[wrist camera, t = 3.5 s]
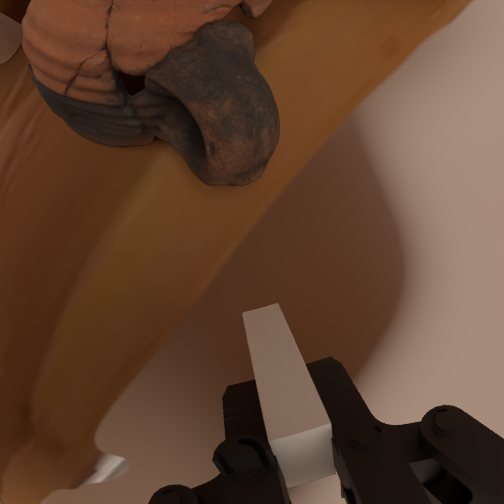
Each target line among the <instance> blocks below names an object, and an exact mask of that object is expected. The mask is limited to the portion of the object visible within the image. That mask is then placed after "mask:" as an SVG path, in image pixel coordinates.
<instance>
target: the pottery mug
mask: <svg viewBox="0 0 504 504" xmlns="http://www.w3.org/2000/svg"><path fill="white" fill-rule="evenodd" d="M272 1H273V0H30V3H29V5H28V8H27V12H26V14H25V16H24V18H23V20H22V31H23V40H22V47H23V50H24V53H25V55H26V57H27V58H28V59H29V61H30V63H29V69H30V70H31V77H32V80H33V82H34V83H35V84H36V85H37V88H38V91H39V93H40V94H41V96H42V97H43V98H44V99H45V101H46V103H47V104H48V105H49V107H50V109H51V110H52V111H53V112H54V113H55V114H56V115H58V116H59V117H61V118H62V119H63V120H65V121H66V123H67V124H68V125H69V127H70V128H72V129H73V130H74V131H75V132H77V133H78V134H80V135H81V136H83V137H85V138H87V139H89V140H92V141H95V142H98V143H101V144H105V145H110V146H119V147H122V146H137V145H145V144H151V143H152V142H153V141H154V138H155V136H157V137H158V138H159V139H162V140H164V141H166V142H168V143H169V144H171V145H172V146H173V147H174V148H176V149H177V150H178V151H179V152H180V154H181V155H182V157H183V158H184V160H185V161H186V163H187V164H188V166H189V167H190V169H191V170H192V172H193V173H194V174H195V175H196V176H197V177H198V178H199V179H200V180H201V181H202V182H203V183H205V184H207V185H212V186H217V185H229V186H245V185H248V184H250V183H251V182H253V181H255V180H257V179H258V178H259V177H260V176H261V175H262V173H263V172H264V170H265V167H266V165H267V163H268V160H269V158H270V157H271V156H272V154H273V152H274V150H275V148H276V146H277V143H278V140H279V135H280V120H279V113H278V109H277V106H276V102H275V99H274V97H273V94H272V91H271V89H270V87H269V85H268V84H267V82H266V80H265V79H264V77H263V76H262V75H261V74H260V72H259V71H258V70H257V68H256V66H255V64H254V59H255V47H254V39H253V34H252V33H251V31H250V30H249V29H248V28H247V27H246V26H245V25H243V24H241V23H238V22H234V21H230V22H228V21H227V22H225V21H223V20H224V18H225V16H226V15H228V14H229V13H230V12H231V11H232V9H233V8H235V7H236V6H238V5H239V6H240V8H241V9H242V11H243V13H244V14H245V15H246V16H247V17H249V18H257V17H259V16H260V15H261V14H262V13H263V12H264V10H266V9H267V8H268V6H269V5H270V4H271V2H272ZM119 72H124V73H126V74H128V75H131V76H140V75H141V76H145V80H144V84H145V87H146V88H145V89H143V90H142V91H140V92H138V93H136V94H135V95H133V96H132V95H129V94H128V92H127V89H126V87H125V86H124V84H123V80H122V79H121V78H120V75H119Z"/></svg>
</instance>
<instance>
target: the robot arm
mask: <svg viewBox="0 0 504 504" xmlns="http://www.w3.org/2000/svg"><path fill="white" fill-rule="evenodd" d="M242 315H243V320H244V325H245V330H246V335H247V341H248V346H249V350H250V356H251V360H252V366H253V370H254V375H255V380H251V381H247V382H243V383H239V384H234V385H230V386H228V387H227V389H226V391H225V393H224V395H223V398H222V399H223V410H224V412H223V413H224V426H225V438H226V440H225V441H223V442H222V443H221V444H219V446H218V447H217V449H216V450H215V451H214V455H213V460H212V461H213V462H214V464H215V465H216V467H217V468H218V470H219V471H220V474H219V475H218V476H217V477H215V478H214V479H212V480H211V481H209V482H207V483H204V484H202V485H199V486H197V487H194V488H192V489H190V488H188V487H186V486H183V485H168V486H166V487H163V488H161V489H159V490H158V491H157V492H155V493H154V494H153V496H152V497H151V500H150V501H149V503H148V504H292V503H291V500H290V498H289V494H288V490H287V488H289V487H293V486H297V485H300V484H304V483H308V482H311V481H315V480H318V479H322V478H324V477H328V476H331V475H334V474H336V471H337V473H338V476H339V479H340V482H341V496H342V498H345V500H346V503H347V504H504V439H503V438H502V437H500V436H499V435H497V434H496V433H494V432H493V431H492V430H490V429H489V428H487V427H486V426H484V425H483V424H481V423H480V422H479V421H477V420H476V419H474V418H473V417H471V416H470V415H469V414H467V413H466V412H464V411H463V410H461V409H459V408H457V407H455V406H450V405H442V406H437V407H435V408H433V409H431V410H429V411H428V412H427V413H426V415H424V417H423V418H422V421H420V422H415V423H409V424H403V425H389V424H385V423H382V422H380V421H379V420H377V419H376V418H375V417H374V416H373V415H372V414H371V412H370V410H369V409H368V407H367V405H366V404H365V402H364V400H363V399H362V397H361V395H360V393H359V392H358V390H357V388H356V387H355V385H354V384H353V382H352V380H351V378H350V377H349V376H348V373H347V372H346V370H345V368H344V367H343V365H342V363H340V362H338V361H337V360H335V359H334V358H332V357H328V358H324V359H321V360H318V361H315V362H312V363H309V364H305V363H304V361H303V358H302V356H301V354H300V352H299V349H298V347H297V345H296V343H295V340H294V338H293V336H292V333H291V331H290V329H289V327H288V324H287V322H286V320H285V317H284V315H283V313H282V311H281V309H280V306H279V304H278V303H276V304H273V305H269V306H266V307H262V308H258V309H255V310H250V311H247V312H243V313H242Z"/></svg>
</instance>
